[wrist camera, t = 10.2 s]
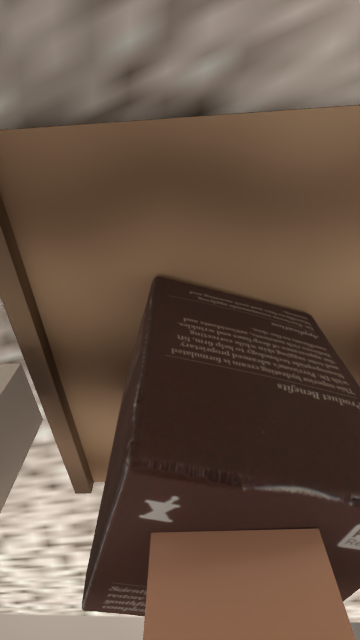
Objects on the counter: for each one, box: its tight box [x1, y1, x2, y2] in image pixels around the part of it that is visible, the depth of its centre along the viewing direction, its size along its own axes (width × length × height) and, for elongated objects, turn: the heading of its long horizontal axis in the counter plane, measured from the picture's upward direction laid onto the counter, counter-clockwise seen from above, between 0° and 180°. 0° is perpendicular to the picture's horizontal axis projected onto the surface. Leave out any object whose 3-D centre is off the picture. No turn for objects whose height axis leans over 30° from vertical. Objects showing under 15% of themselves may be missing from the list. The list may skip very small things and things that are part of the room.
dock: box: [0, 105, 360, 493], centre depth 14 cm, size 16×14×3 cm
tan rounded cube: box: [143, 529, 355, 640], centre depth 6 cm, size 3×3×2 cm
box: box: [82, 276, 360, 616], centre depth 10 cm, size 6×6×7 cm
